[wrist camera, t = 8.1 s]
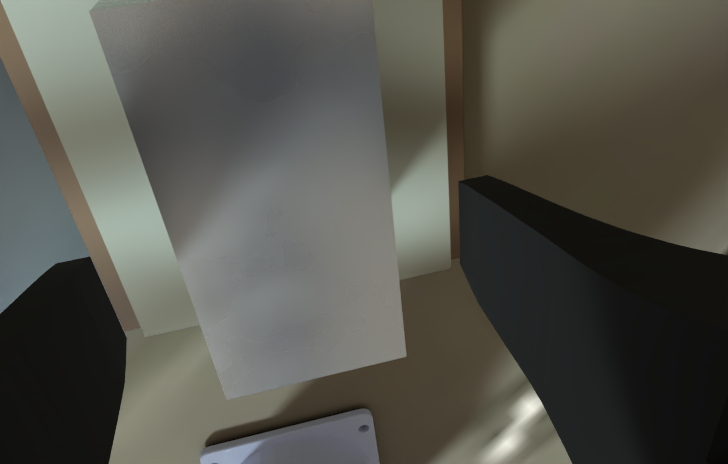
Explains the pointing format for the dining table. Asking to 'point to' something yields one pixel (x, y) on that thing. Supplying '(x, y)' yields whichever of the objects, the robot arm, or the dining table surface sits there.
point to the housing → (267, 176)
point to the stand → (131, 184)
